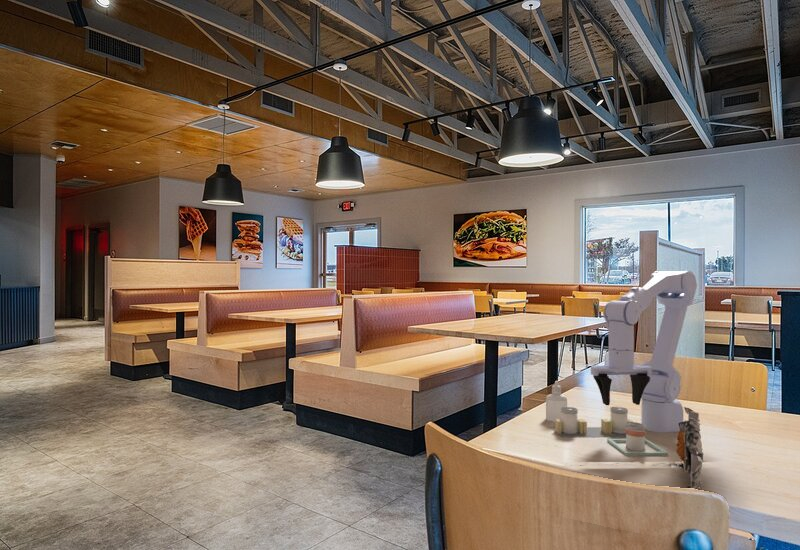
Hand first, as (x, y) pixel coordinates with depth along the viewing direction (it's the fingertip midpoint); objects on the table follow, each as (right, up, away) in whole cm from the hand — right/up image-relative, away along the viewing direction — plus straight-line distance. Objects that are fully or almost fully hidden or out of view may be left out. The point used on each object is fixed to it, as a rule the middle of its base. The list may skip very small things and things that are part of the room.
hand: (621, 404), depth 122 cm
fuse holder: (-5, -10, +5) cm, 12 cm away
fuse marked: (+1, -9, -6) cm, 11 cm away
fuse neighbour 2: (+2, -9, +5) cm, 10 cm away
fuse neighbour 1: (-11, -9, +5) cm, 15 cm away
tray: (+1, -10, -7) cm, 12 cm away
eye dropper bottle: (-11, -10, +16) cm, 22 cm away
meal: (+4, -10, -22) cm, 24 cm away
